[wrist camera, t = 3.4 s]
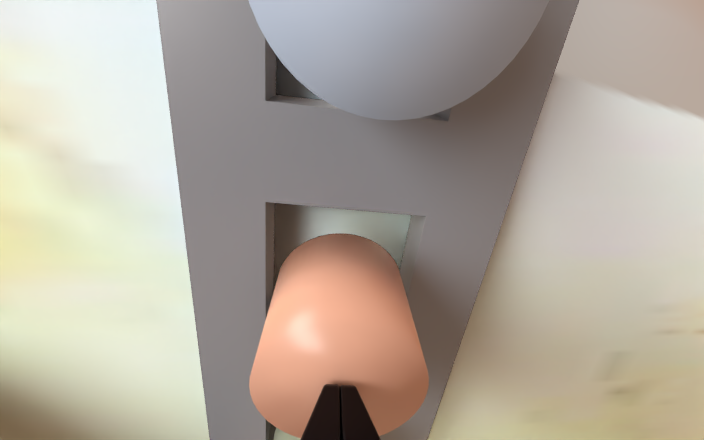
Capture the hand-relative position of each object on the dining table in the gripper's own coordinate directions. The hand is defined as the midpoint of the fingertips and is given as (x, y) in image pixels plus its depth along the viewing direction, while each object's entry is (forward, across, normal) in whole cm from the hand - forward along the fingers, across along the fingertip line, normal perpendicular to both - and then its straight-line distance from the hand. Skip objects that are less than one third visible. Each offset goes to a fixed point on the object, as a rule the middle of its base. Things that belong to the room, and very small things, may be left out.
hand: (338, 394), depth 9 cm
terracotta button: (+5, 0, 0) cm, 5 cm away
